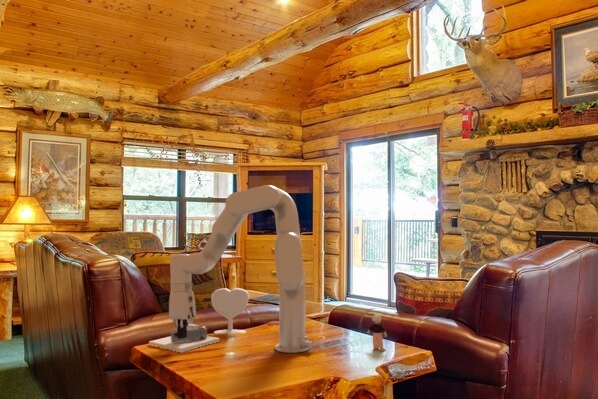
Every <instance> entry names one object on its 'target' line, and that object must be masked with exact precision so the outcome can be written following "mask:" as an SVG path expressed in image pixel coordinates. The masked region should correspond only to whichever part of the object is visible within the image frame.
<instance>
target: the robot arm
mask: <svg viewBox="0 0 598 399" xmlns="http://www.w3.org/2000/svg"><path fill="white" fill-rule="evenodd" d="M224 204H225V205H224V206H225V207H224V209H223V210H222V211H221V213H220V214H219V216H218V217H217V218H216V220H215V222H213V225H212V226H211V227H212V228H211V234H210V236H209V239H208V240H207V242H206V243H205V245H204V246H203V248H202V250H200V252H199V253H198V252H197V253H193V254H188V253H174V254H172V255H171V256H170V261H169V264H170V269H169V270H170V294H169V299H168V316H169V317H170V320H171V321H173V323H175V327H176V331H177V338H179V339H182V338H186V337H187V326H188V324H193V322H194V318H196V317H197V309H196V299H195V293H194V291H193V285H192V280H193V279H192V278H193V277H192V274H194V275H202V274H205V273H207V272H210V271H211V270H213V268H214V267H215V266H216V264H217V263H218V262H219V260H220V259H221V257H222V255H223V254H224V253H225V251H226V249H227V248H228V246H229V244H230V243H231V241H232V239H233V237H234V236H235V234H236V233H237V231H238V230H239V228H241V225H242V224H243V222H244V221H245V220H246V218H247V216H249V214H253V213H257V212H261V211H267V210H271V211H272V212H273V213H274V216H275V217H274V218H275V221H274V222H275V227H276V238H275V239H274V240H275V241H274V245H273V249H274V250H273V251H274V252H273V253H274V261H275V273H276V280H277V283H278V287H279V288H278V289H279V290H278V291H279V292H278V294H279V296H278V302H279V305H278V308H279V309H278V313H279V315H278V316H279V317H278V323H279V324H278V325H279V326H278V327H279V328H278V330H279V331H278V332H279V333H278V338H279V342H278V343H276V344H275V345H274V349H275V350H276V351H277V352H280V353H291V354H292V353H293V354H296V353H303V352H307V351H309V350H310V348H311V349H312V348H313V347H314V344H315V342H314V341H313V340H309V336H308V335H306V277H307V276H306V270H305V268H304V264H303V261H304V260H303V250H302V249H303V248H302V247H303V243H302V242H303V241H302V236H301V229H300V222H299V220H300V219H299V212H298V209H297V205H296V203H295V201H294V199H293V198H292V197H291V196H290V194H288V193H287V192H285V191H284V190H282V189H280V188H278V187H276V186H274V185H270V184H266V185H261V186H256V187H253V188H248V189H244V190H241V191H236V192H232V193H231V194H229V195H228V196H227V198H226V200H225V203H224Z"/></svg>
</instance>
